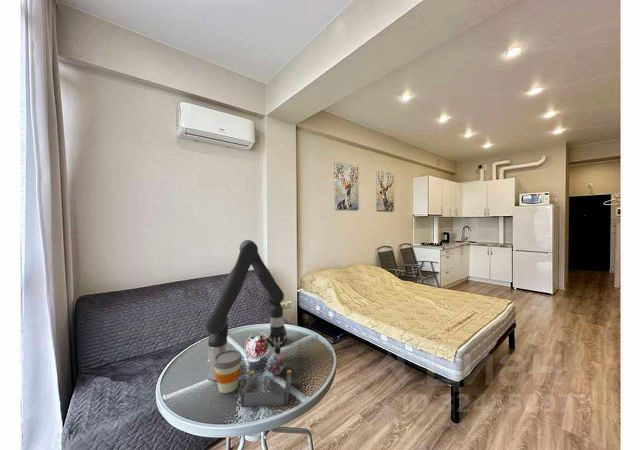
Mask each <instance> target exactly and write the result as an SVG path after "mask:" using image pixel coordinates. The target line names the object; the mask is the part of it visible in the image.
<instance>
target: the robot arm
mask: <svg viewBox="0 0 640 450" xmlns="http://www.w3.org/2000/svg"><path fill="white" fill-rule="evenodd" d="M251 266H252V268H253V271H254V272H255V274H256V276H257V279H258V280H259V282H260V283H261V285H262V287H263V288H264V290H265V291H267V293H268V303H269V308H270V310H269V311H270V312H269V313H270V318H269V319H270V320H269V321H270V322H269V325H270V328H269V329H270V331H269V332H270V334H269V336H267V337H266V339H265V340H266V342H267V343H268V344H269V345H270V347H271V348H274V353H276V354H277V355H278V356H280V353H281V348H283V347H284V346H285V345H286V343H287V342H288V340H289V336H287V337H286V336H285V334H284V326H285V321H284V312H283V311H284V308H283V306H282V304H281V303H282V302H283V301H284V298H285V294H284V292H283V290H282V289H281V288H280V286H279V285H278V283H277V282H276V280H275V278H274V276H273V275H272V273H271V271H270V270H269V268H267V266H266V265H265V263H264V261H263V259H262V258H261V255H260V254H259V248H258V245H257V244H256V242H255V241H253V240H250V239H246V240H243V241H242V242H241V243H240V245H239V253H238V257H237V259H236V262H235V265H234V266H233V268H232V269H231V271H230V272H229V273H228V275H227V277H226V279H225V281H224V284H223V286H222V288H221V291H220V293H219V297H218V299H217V302H216V305H215V308H214V310H212V313H211V315H210V317H209V318H208V319H207V322H206V331H207V332H208V334H209V338H208V339H207V340H208V342H207V343H208V359H207V362H206V367H207V369H206V370H207V371H206V372H207V380H211V381H216V376H215V367H214V359H215V356H216V355H218V354H219V353H221V352H224V351H227V350H228V334H229V324H228V323H229V321H228V319H229V318H228V315H229V313H230V310H231V308H232V307H233V306H234V303H235V302H236V300H237V299H238V296H239V294H240V293H241V290H242V289H243V286H244V283H245V280H246V277H247V275H248V272H249V269H250V268H251ZM283 338H284V341H283V342H282V344H281V341H282V339H283ZM271 339H272V340H273V341H274V343H273V342H272V340H271ZM277 342H278V345H277Z"/></svg>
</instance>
